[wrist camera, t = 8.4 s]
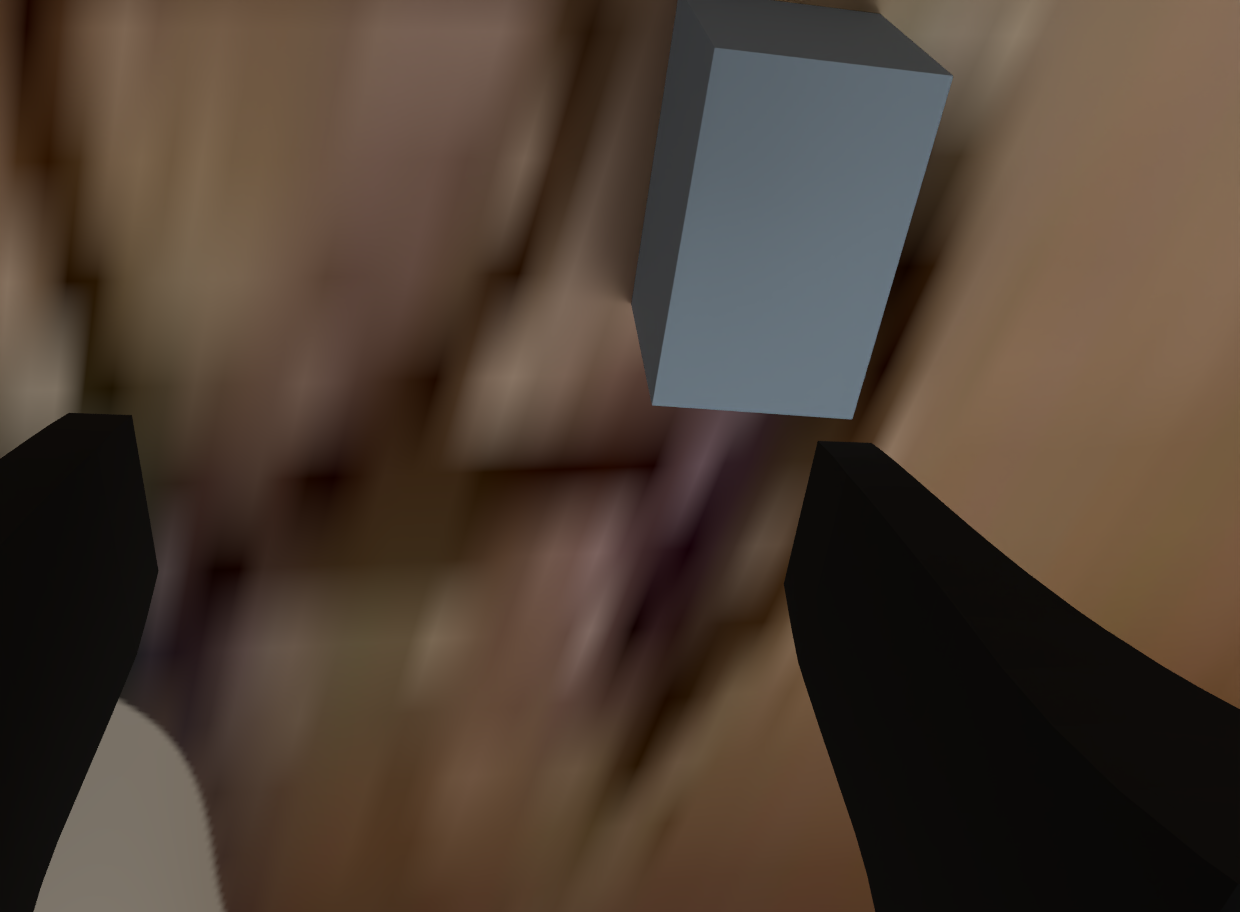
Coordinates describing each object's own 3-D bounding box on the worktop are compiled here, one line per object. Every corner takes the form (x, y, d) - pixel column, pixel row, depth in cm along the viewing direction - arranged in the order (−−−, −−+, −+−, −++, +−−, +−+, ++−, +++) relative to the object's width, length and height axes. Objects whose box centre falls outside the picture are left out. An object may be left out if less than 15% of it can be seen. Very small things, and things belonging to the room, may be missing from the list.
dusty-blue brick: (877, 12, 20) (953, 75, 16) (802, 315, 23) (852, 419, 20) (678, -14, 19) (714, 48, 16) (630, 301, 22) (651, 405, 19)
